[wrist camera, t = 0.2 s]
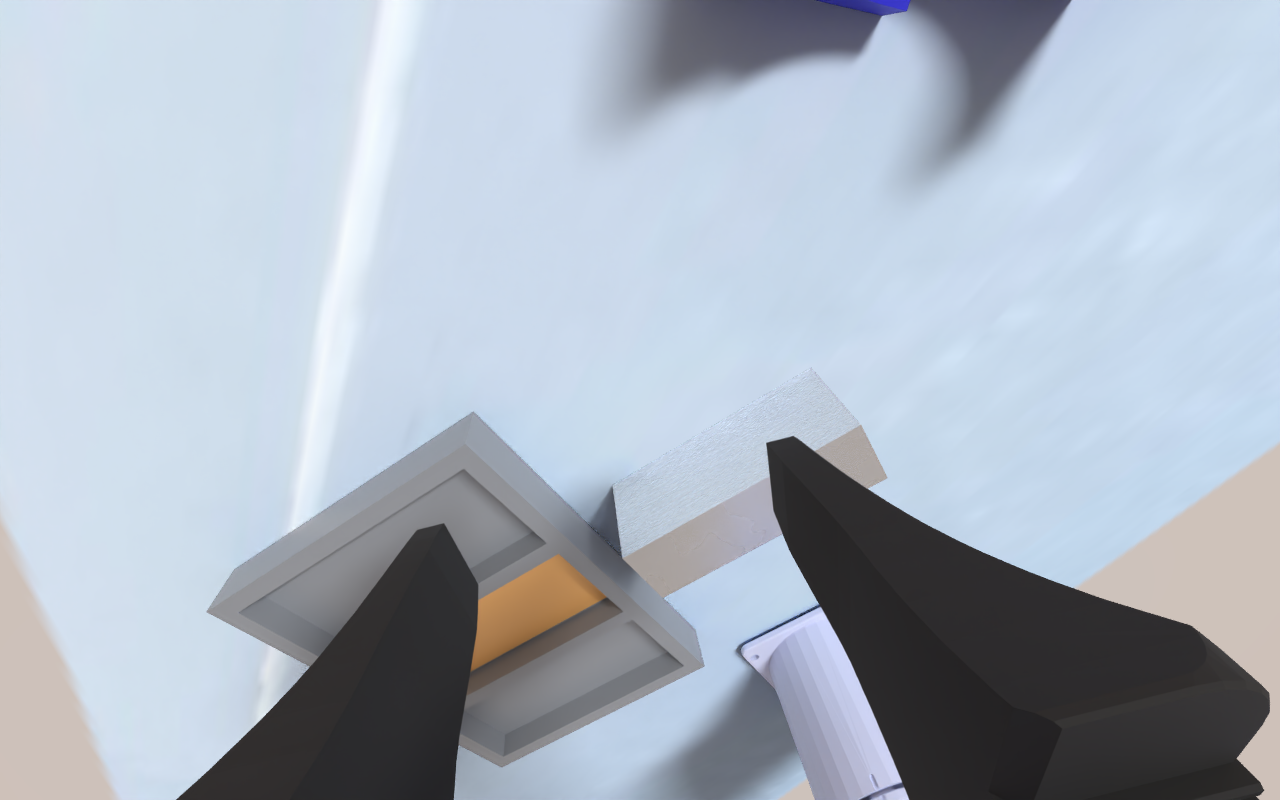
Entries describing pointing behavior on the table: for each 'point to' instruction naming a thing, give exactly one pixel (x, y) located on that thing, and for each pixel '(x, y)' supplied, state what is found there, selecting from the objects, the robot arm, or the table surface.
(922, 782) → the robot arm
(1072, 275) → the table surface
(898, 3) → the blue arch block
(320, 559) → the bay rack
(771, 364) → the table surface
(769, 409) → the light grey rectangular block
